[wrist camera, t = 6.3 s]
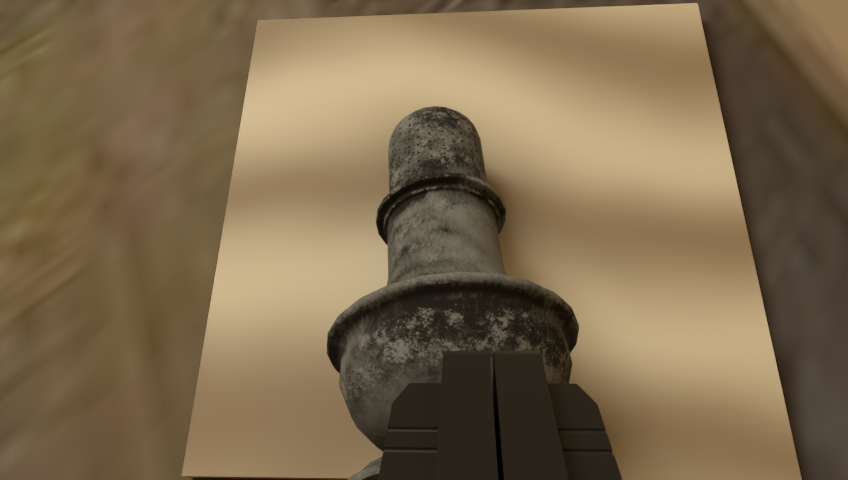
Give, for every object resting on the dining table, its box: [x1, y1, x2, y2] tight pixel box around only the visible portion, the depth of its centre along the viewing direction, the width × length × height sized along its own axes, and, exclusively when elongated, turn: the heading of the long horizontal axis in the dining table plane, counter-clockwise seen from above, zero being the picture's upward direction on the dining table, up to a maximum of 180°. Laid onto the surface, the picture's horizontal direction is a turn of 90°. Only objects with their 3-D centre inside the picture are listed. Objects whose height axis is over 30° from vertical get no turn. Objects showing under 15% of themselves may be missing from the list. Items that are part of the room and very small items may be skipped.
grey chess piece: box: [327, 106, 579, 480], centre depth 16 cm, size 6×6×12 cm
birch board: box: [182, 3, 802, 480], centre depth 20 cm, size 16×16×1 cm
